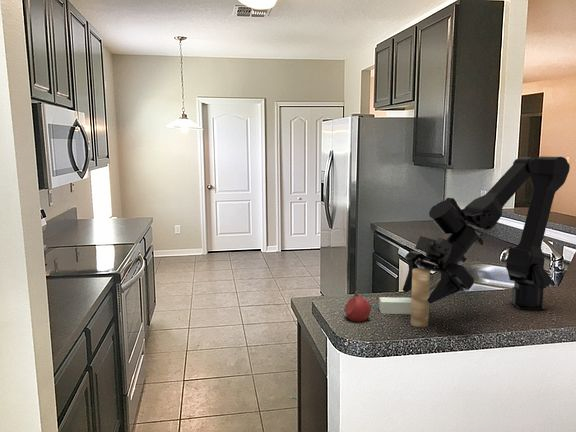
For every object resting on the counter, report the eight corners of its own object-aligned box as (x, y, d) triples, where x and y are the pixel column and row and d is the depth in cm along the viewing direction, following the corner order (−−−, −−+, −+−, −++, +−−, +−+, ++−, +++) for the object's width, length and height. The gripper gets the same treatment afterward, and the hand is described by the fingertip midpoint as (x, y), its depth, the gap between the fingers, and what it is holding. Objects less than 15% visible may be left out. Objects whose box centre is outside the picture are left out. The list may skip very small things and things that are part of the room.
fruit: (368, 330, 117) (384, 301, 117) (348, 320, 115) (365, 291, 115) (358, 322, 123) (373, 294, 123) (339, 312, 121) (355, 284, 121)
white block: (410, 309, 126) (410, 297, 126) (413, 314, 122) (413, 302, 122) (379, 308, 127) (379, 297, 126) (381, 313, 123) (381, 302, 122)
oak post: (426, 321, 117) (428, 268, 116) (429, 327, 113) (432, 272, 112) (409, 321, 118) (410, 268, 116) (412, 327, 114) (414, 272, 112)
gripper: (412, 219, 122) (373, 266, 120) (466, 230, 105) (422, 285, 103) (436, 247, 126) (399, 293, 124) (492, 262, 109) (450, 316, 107)
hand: (415, 296), depth 114 cm, fingers open, 9 cm apart
